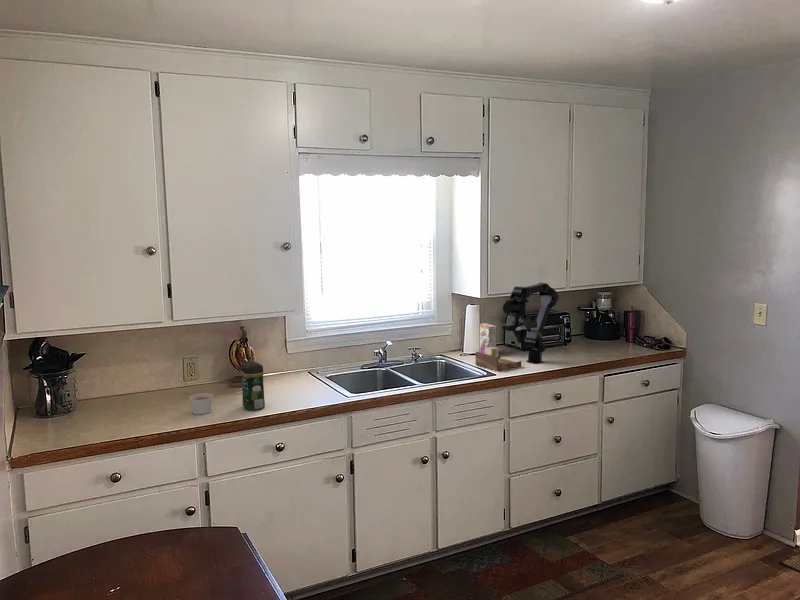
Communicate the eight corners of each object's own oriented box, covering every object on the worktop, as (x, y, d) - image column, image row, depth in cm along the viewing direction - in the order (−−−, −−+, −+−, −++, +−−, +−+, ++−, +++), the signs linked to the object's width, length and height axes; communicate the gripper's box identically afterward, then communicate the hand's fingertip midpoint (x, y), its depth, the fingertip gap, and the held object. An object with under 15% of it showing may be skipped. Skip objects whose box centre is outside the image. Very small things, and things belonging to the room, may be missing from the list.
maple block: (491, 362, 329) (491, 346, 328) (498, 364, 325) (498, 348, 324) (484, 363, 327) (484, 347, 326) (491, 365, 322) (491, 349, 321)
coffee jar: (240, 406, 264) (238, 361, 262) (259, 403, 268) (257, 358, 266) (247, 412, 256) (245, 365, 253) (267, 409, 260) (265, 363, 257)
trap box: (499, 361, 340) (499, 348, 339) (521, 367, 326) (521, 353, 326) (475, 365, 331) (475, 351, 330) (496, 371, 318) (496, 357, 317)
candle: (218, 411, 258) (217, 395, 257) (199, 417, 250) (199, 401, 249) (203, 407, 263) (202, 392, 262) (184, 413, 255) (184, 397, 255)
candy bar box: (478, 353, 360) (478, 323, 358) (486, 352, 362) (486, 323, 360) (488, 357, 350) (488, 326, 348) (496, 356, 352) (497, 326, 350)
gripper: (517, 315, 313) (517, 347, 315) (545, 312, 323) (544, 343, 325) (501, 312, 322) (501, 344, 324) (529, 309, 332) (528, 339, 334)
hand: (519, 342), depth 327 cm, fingers closed
